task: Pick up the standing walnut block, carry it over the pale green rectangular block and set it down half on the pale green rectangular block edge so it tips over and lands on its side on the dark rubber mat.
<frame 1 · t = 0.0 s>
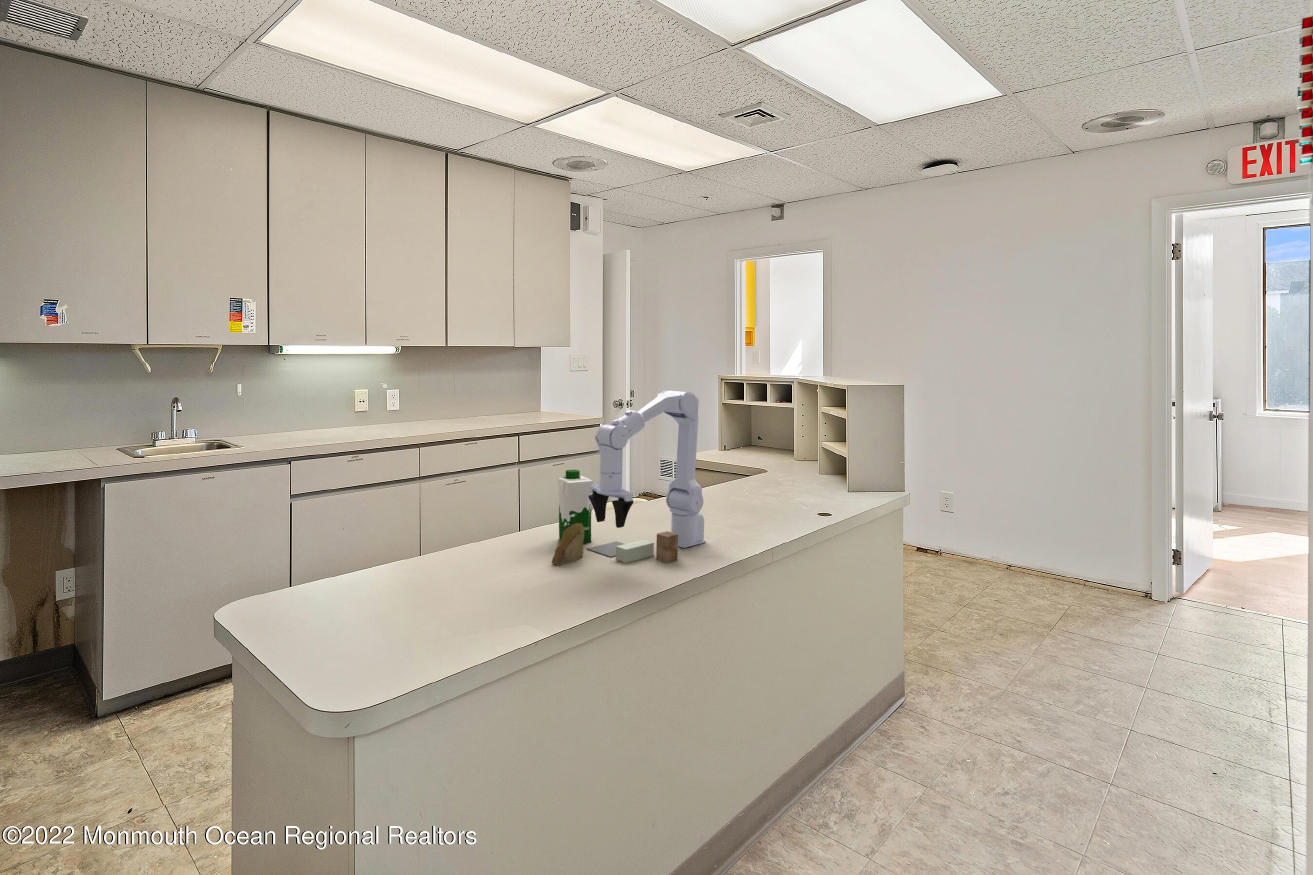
hand: (610, 524, 176), 10 cm above the worktop, tool pointing down, fingers open, 7 cm apart
milk carton: (575, 541, 197), on the worktop
pale green rectangular block: (634, 557, 182), on the worktop
rock: (566, 560, 179), on the worktop
mat: (613, 549, 189), on the worktop
walnut block: (666, 559, 181), on the worktop
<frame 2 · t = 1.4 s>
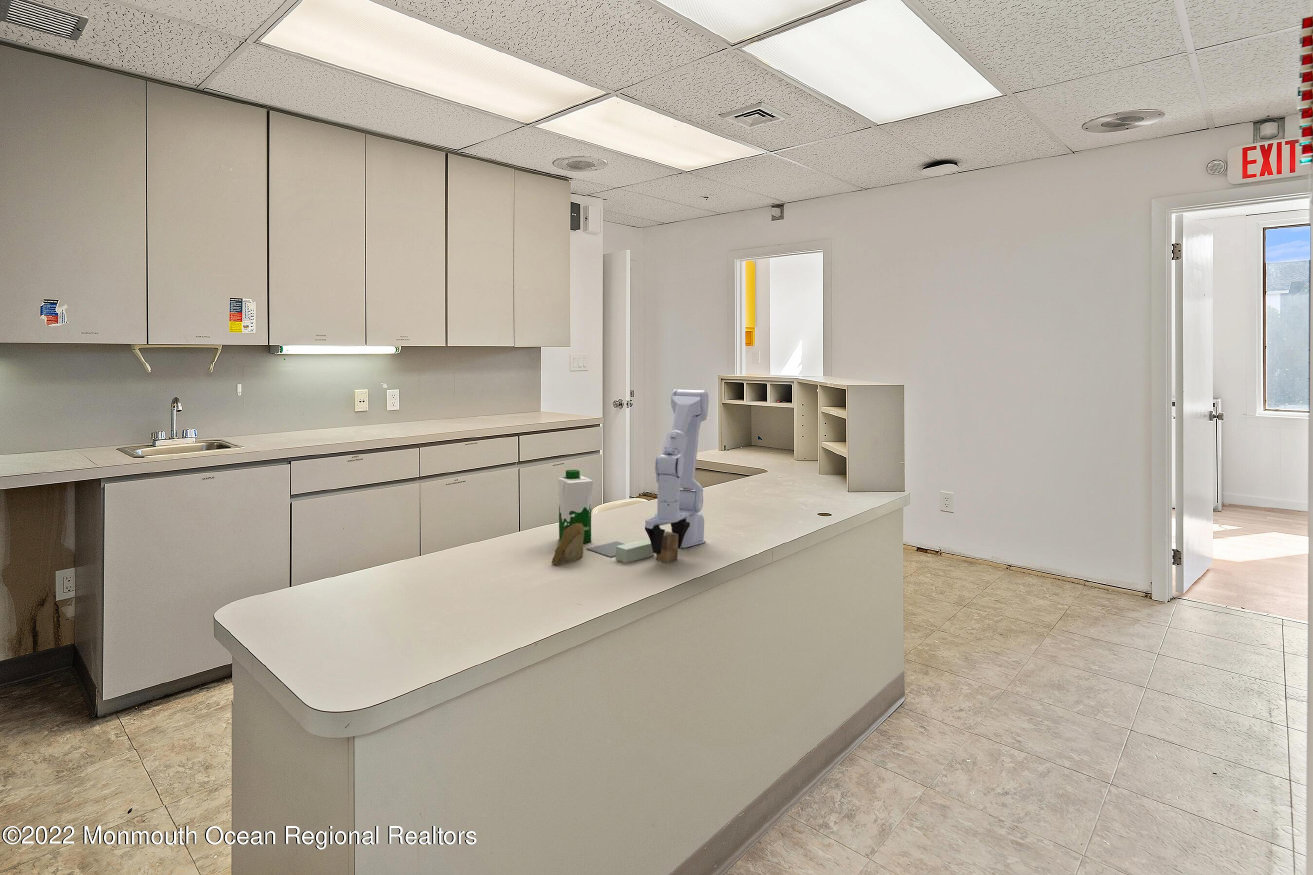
hand: (667, 550, 180), 2 cm above the worktop, tool pointing down, fingers open, 7 cm apart
nothing on the worktop moved.
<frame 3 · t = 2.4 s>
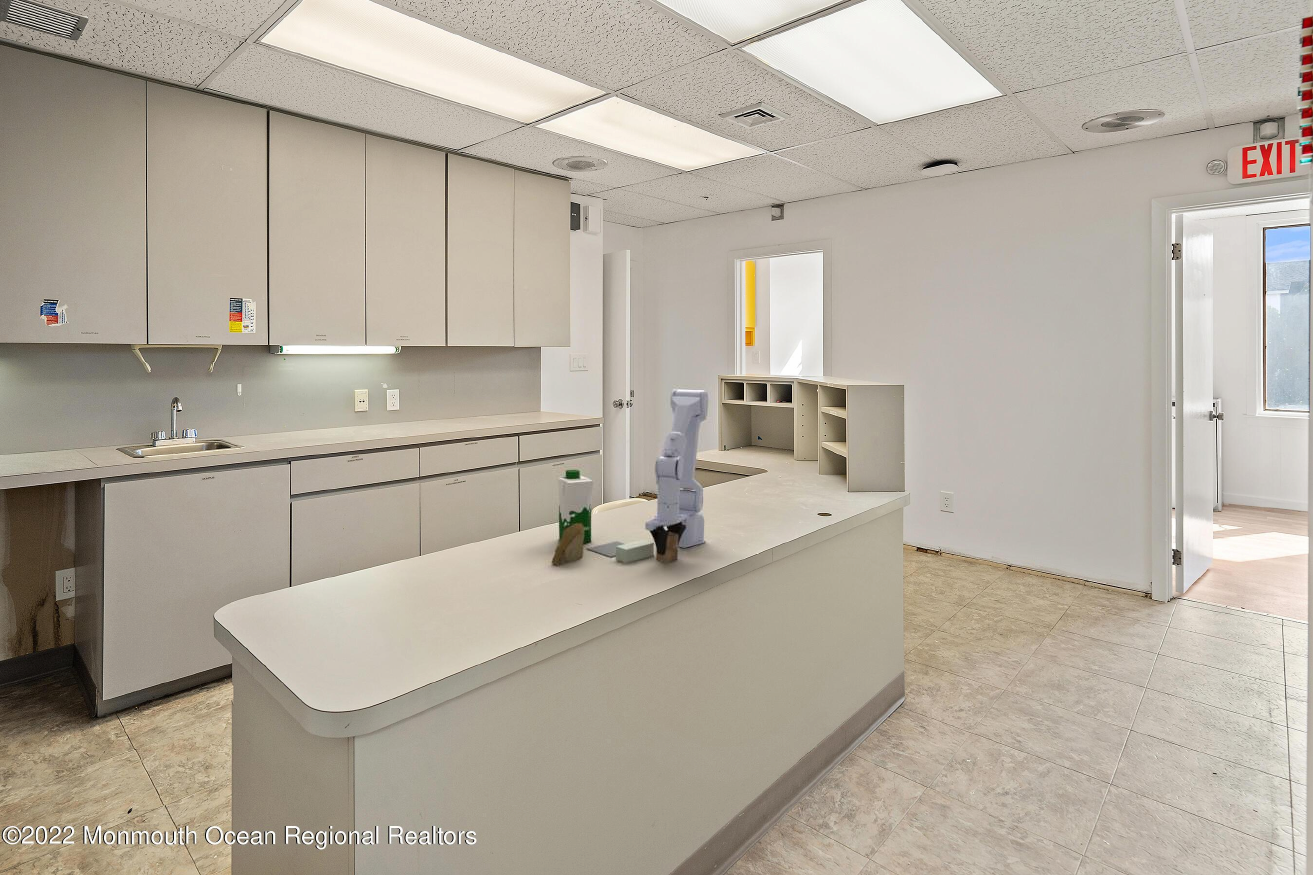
hand: (667, 552, 181), 2 cm above the worktop, tool pointing down, fingers closed on walnut block, 4 cm apart
walnut block: (666, 559, 181), on the worktop, touching gripper
everything else where it was.
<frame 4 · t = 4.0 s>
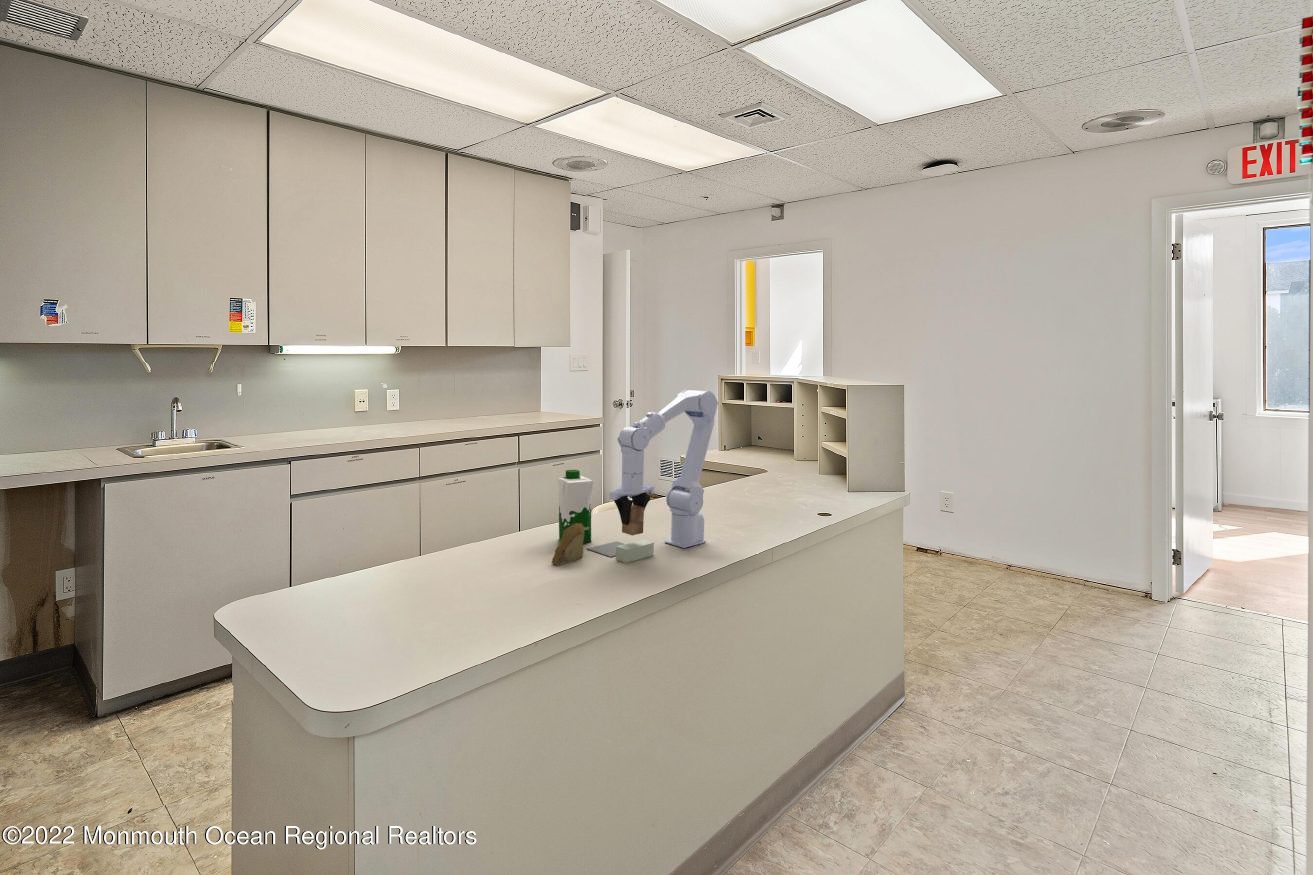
hand: (631, 522, 183), 9 cm above the worktop, tool pointing down, fingers closed on walnut block, 4 cm apart
walnut block: (632, 532, 183), point 6 cm above the worktop, touching gripper
everything else where it was.
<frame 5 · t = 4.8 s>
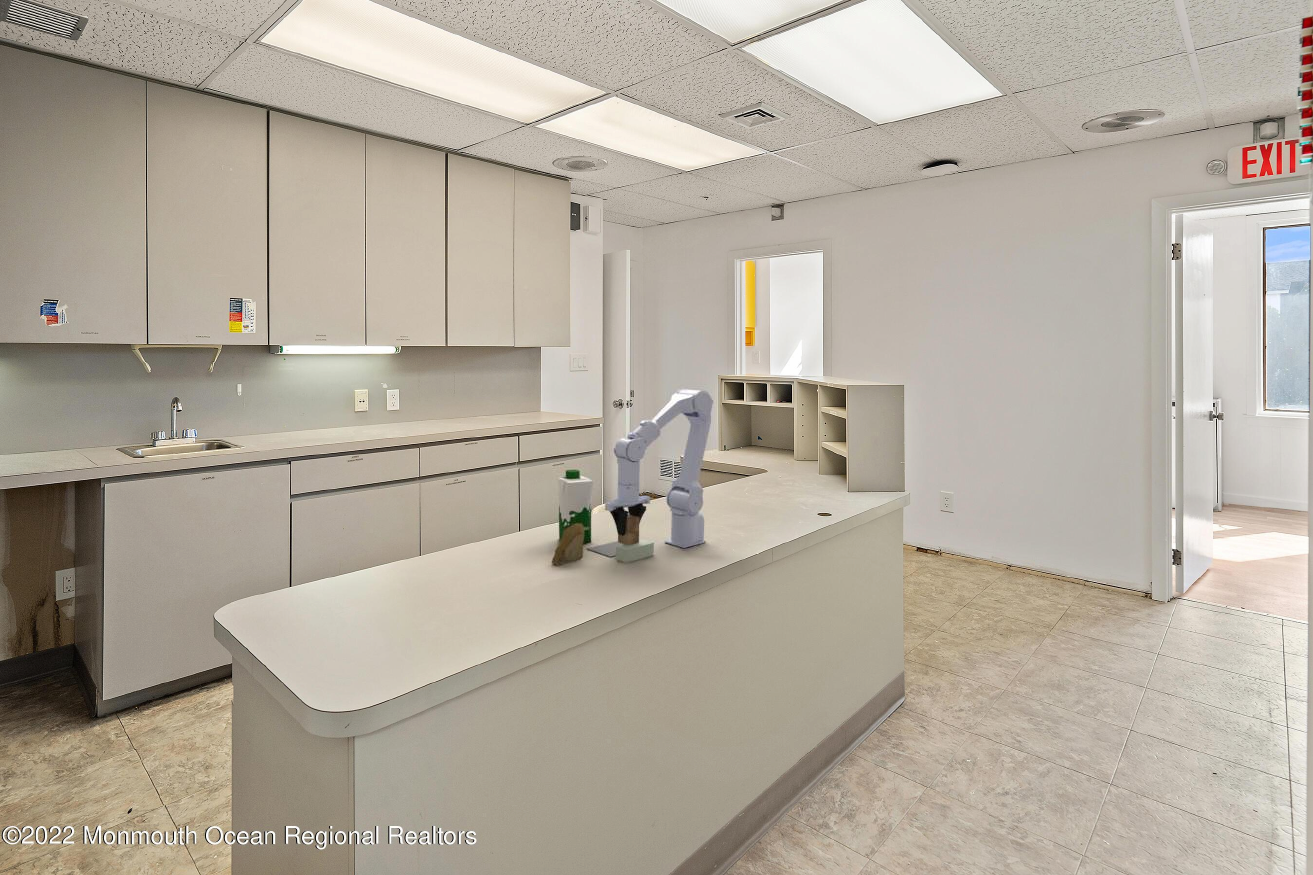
hand: (627, 533, 184), 6 cm above the worktop, tool pointing down, fingers closed on walnut block, 4 cm apart
walnut block: (628, 542, 184), point 3 cm above the worktop, touching gripper, pale green rectangular block
everything else where it was.
when the fingers open (6 cm above the worktop, at t = 5.5 s): walnut block drops 1 cm and tips over, resting on mat.
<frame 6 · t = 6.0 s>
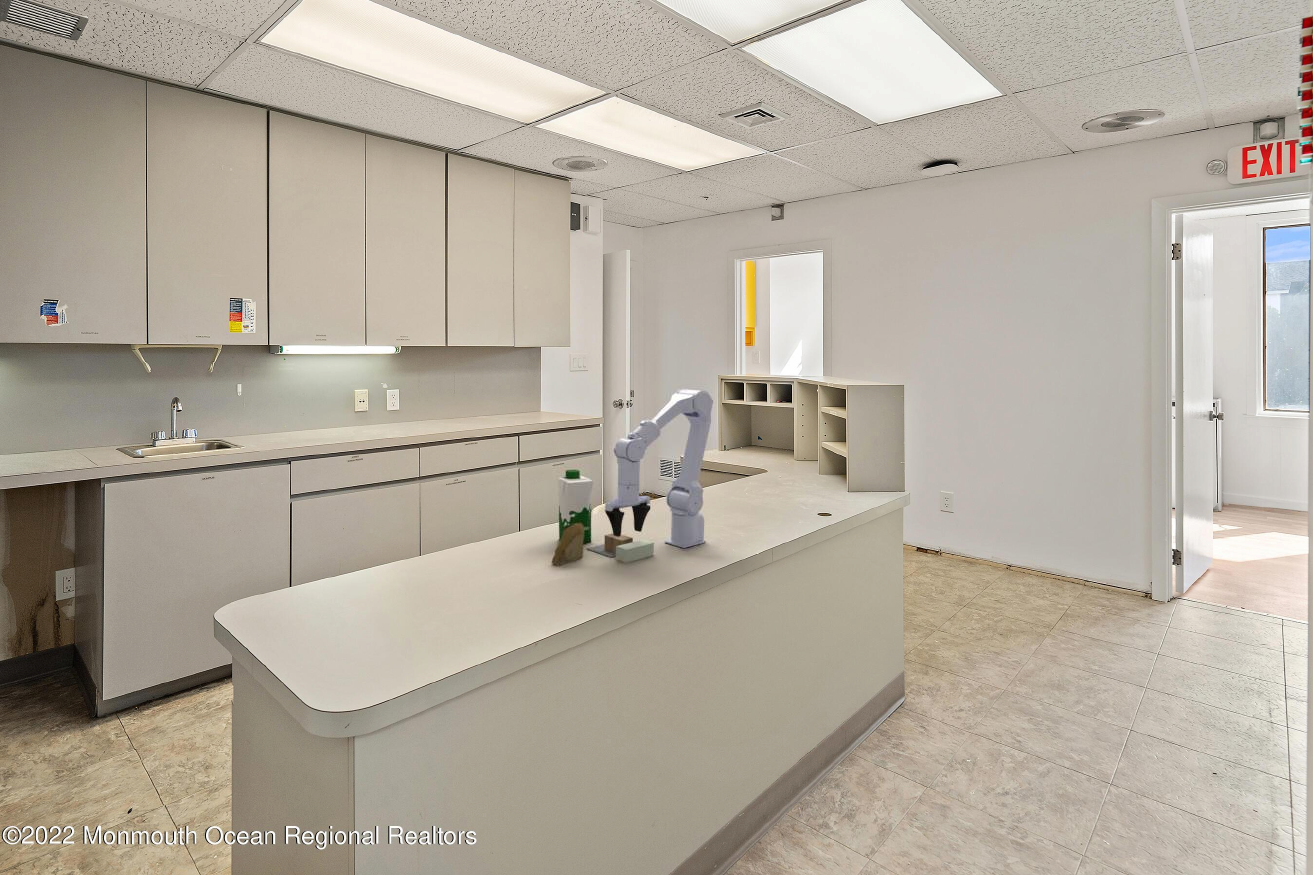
hand: (627, 533, 184), 6 cm above the worktop, tool pointing down, fingers open, 7 cm apart
walnut block: (627, 546, 184), point 2 cm above the worktop, tilted 90°, touching mat
everything else where it was.
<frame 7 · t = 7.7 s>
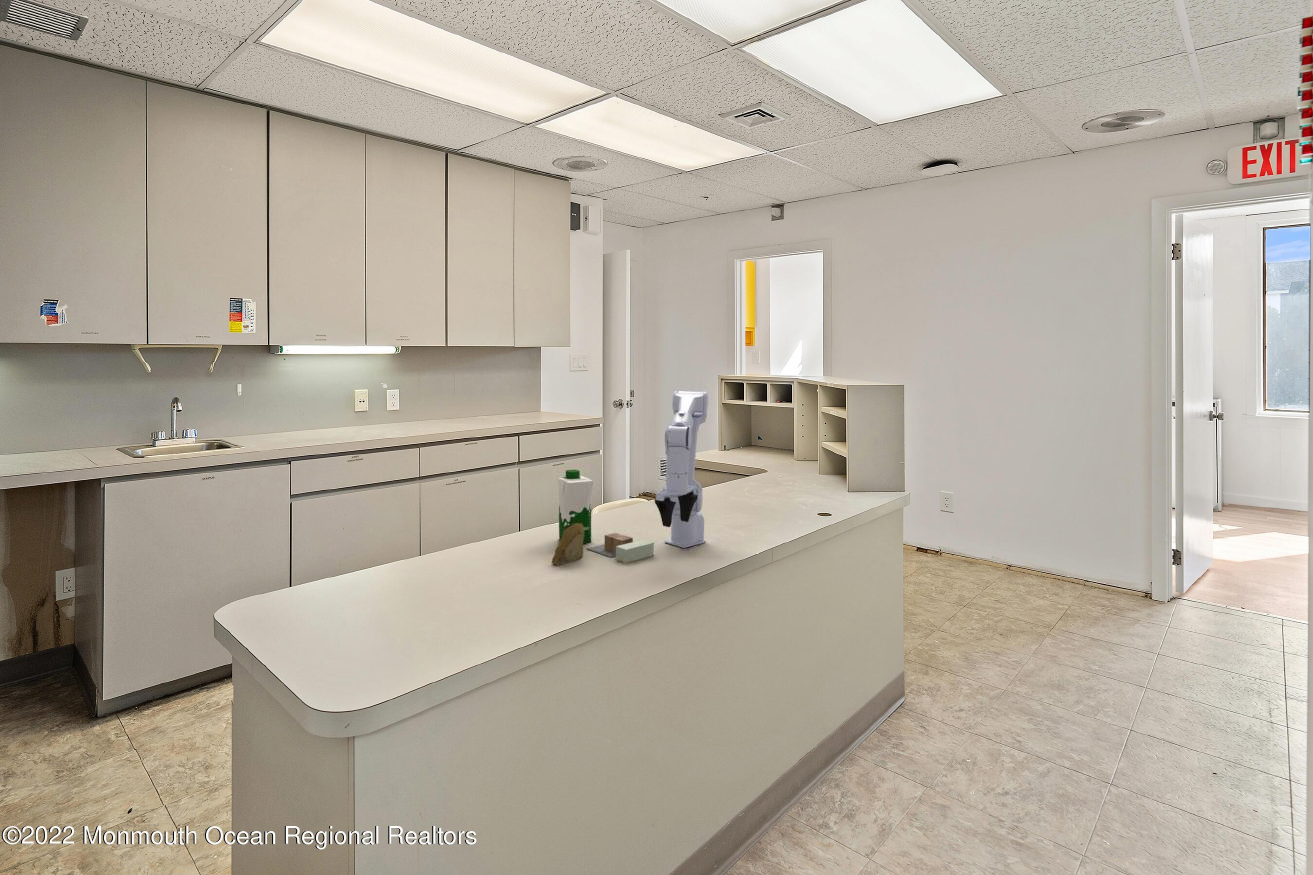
hand: (675, 523, 179), 10 cm above the worktop, tool pointing down, fingers open, 7 cm apart
nothing on the worktop moved.
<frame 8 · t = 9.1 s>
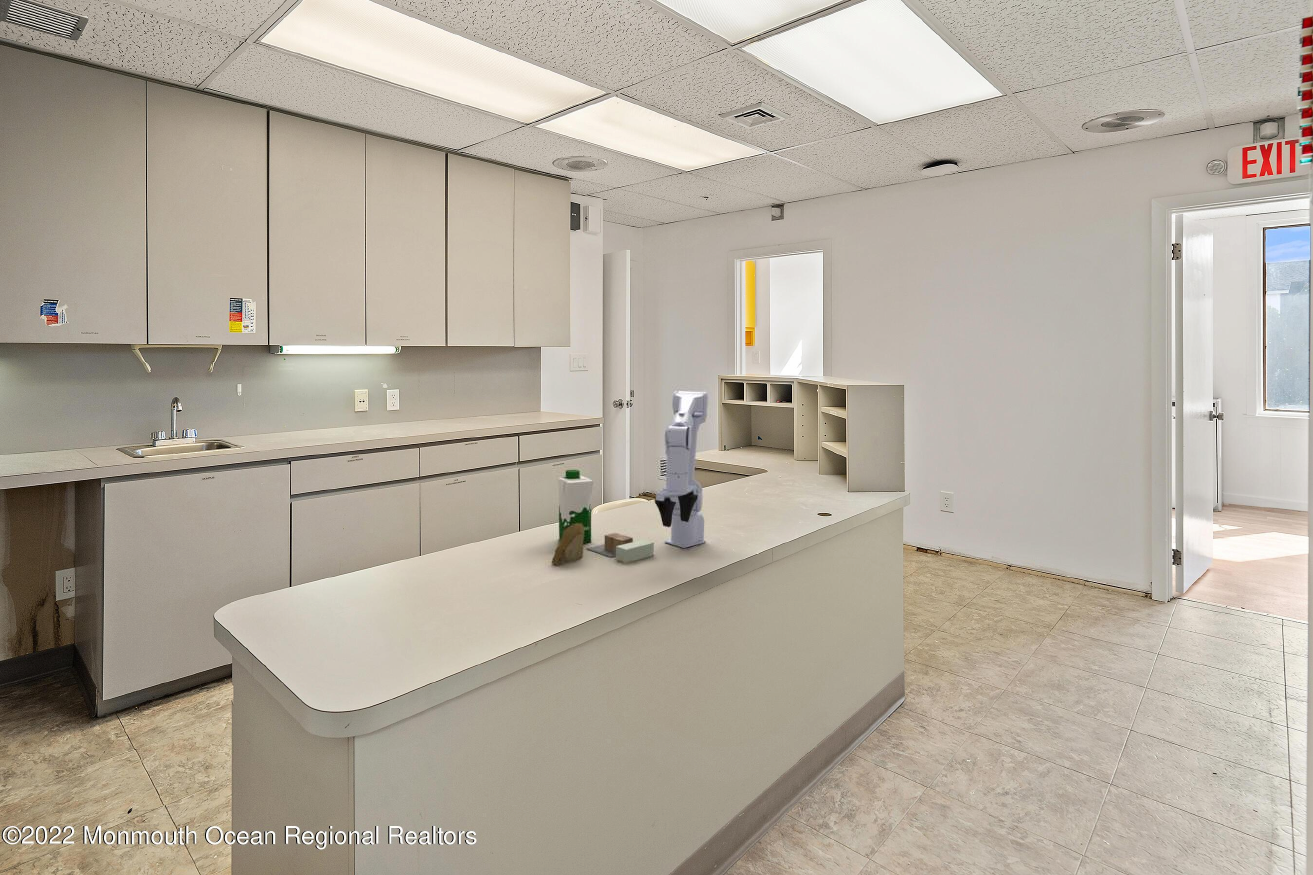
hand: (675, 523, 179), 10 cm above the worktop, tool pointing down, fingers open, 7 cm apart
nothing on the worktop moved.
at the end: walnut block tilted 90°; walnut block inside the target area (6.4 cm from its centre), point 2.3 cm above the worktop; the gripper is holding nothing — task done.
